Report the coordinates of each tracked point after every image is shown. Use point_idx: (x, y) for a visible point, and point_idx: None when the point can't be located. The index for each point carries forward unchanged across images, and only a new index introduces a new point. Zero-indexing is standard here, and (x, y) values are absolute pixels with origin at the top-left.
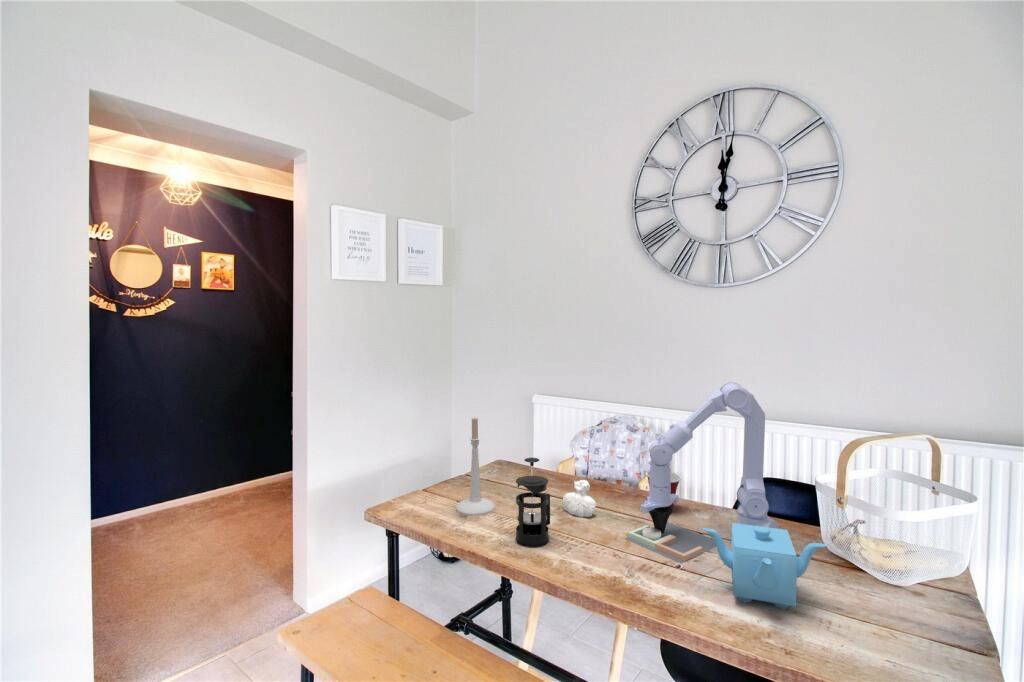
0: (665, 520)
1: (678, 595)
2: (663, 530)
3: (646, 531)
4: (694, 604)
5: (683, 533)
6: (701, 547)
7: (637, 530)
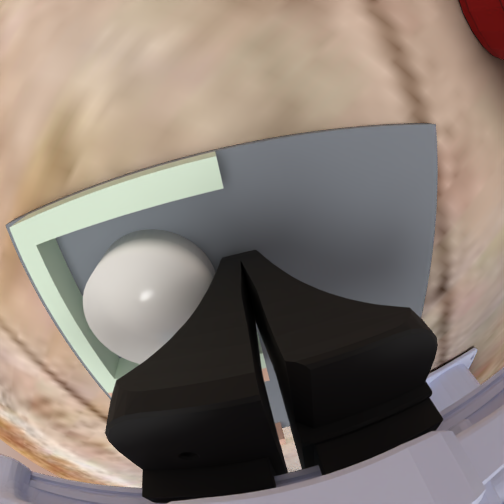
0: (280, 389)
1: (92, 470)
2: (255, 319)
3: (108, 305)
4: (110, 482)
5: (380, 293)
6: (280, 444)
7: (74, 223)
